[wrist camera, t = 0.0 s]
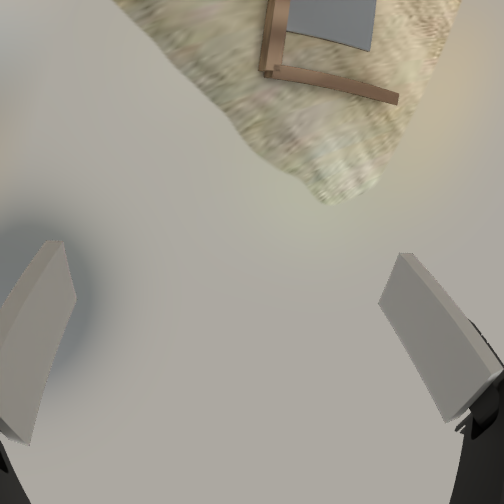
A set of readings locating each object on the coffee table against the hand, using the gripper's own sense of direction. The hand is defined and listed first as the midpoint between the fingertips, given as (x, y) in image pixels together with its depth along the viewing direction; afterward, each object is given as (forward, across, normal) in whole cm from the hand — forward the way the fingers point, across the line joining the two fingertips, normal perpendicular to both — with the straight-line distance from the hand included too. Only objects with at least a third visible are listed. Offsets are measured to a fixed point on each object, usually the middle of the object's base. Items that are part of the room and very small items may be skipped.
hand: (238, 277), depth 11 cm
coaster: (+28, +12, +19) cm, 36 cm away
